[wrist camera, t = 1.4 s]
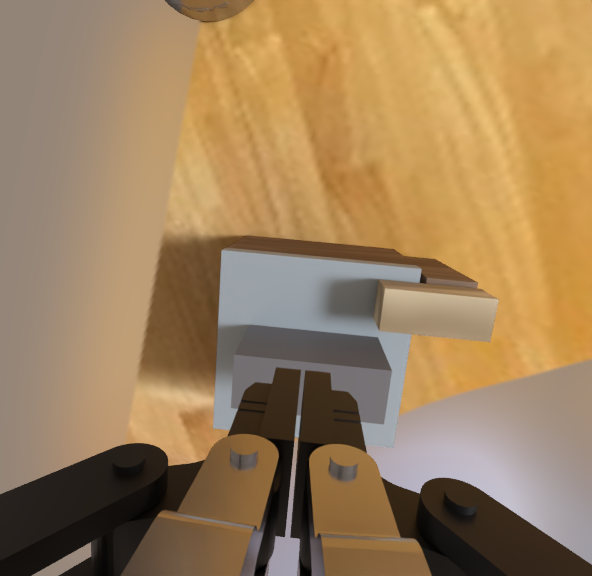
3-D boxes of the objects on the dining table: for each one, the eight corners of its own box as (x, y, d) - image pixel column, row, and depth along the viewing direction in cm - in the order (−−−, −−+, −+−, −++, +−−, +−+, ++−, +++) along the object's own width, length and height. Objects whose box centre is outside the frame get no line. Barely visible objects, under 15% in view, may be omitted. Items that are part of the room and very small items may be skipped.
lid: (229, 245, 27) (197, 263, 20) (413, 263, 27) (447, 287, 20) (220, 411, 30) (190, 478, 23) (387, 429, 29) (409, 503, 22)
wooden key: (378, 279, 24) (385, 288, 22) (480, 288, 24) (498, 299, 22) (373, 317, 25) (379, 331, 22) (473, 327, 25) (490, 342, 22)
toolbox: (247, 235, 34) (221, 250, 25) (436, 253, 33) (479, 274, 24) (239, 371, 36) (213, 428, 27) (413, 389, 36) (445, 453, 27)
